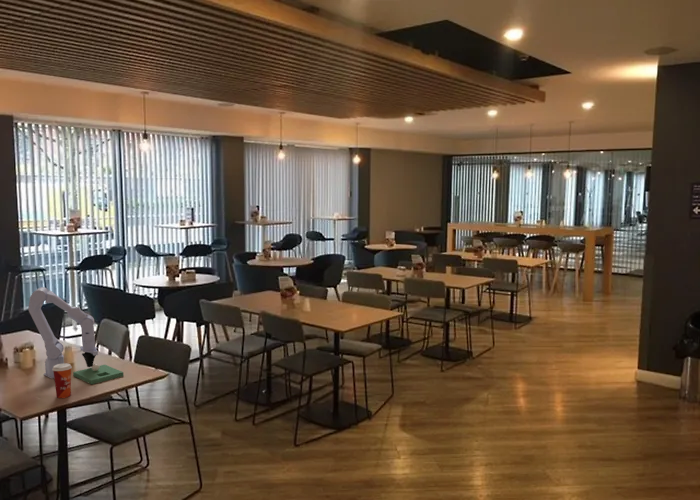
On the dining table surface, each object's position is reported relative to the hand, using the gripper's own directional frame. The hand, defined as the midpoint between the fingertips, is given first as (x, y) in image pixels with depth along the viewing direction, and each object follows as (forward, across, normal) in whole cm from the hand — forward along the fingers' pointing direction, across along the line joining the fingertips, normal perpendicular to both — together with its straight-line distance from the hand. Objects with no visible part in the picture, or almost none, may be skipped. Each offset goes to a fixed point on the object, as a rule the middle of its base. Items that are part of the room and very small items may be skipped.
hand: (89, 366), depth 291 cm
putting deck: (+3, -9, 0) cm, 9 cm away
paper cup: (+3, -24, +23) cm, 33 cm away
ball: (-1, -6, 0) cm, 6 cm away
